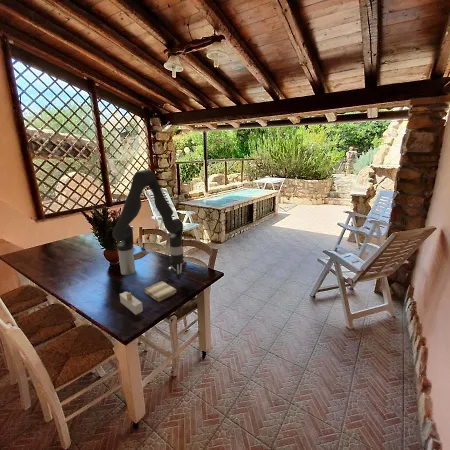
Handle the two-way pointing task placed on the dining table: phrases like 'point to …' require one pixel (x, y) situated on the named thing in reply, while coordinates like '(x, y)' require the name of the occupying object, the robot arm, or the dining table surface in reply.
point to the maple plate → (160, 291)
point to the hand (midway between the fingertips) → (178, 278)
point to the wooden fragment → (139, 255)
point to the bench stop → (131, 302)
